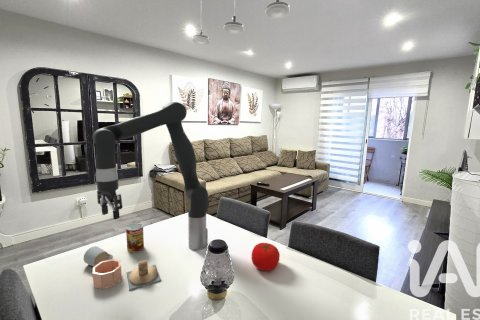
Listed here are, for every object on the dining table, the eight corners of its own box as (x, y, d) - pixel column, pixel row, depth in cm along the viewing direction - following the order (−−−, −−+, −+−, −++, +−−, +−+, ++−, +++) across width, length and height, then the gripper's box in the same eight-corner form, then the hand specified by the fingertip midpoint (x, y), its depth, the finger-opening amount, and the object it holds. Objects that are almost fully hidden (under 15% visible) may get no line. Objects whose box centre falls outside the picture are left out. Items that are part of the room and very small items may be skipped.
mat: (155, 265, 108) (155, 264, 108) (161, 281, 98) (161, 279, 98) (126, 273, 102) (126, 272, 102) (129, 290, 92) (129, 289, 92)
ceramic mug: (95, 271, 103) (94, 255, 102) (83, 266, 106) (82, 250, 105) (117, 260, 112) (116, 244, 111) (105, 255, 116) (105, 240, 115)
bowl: (120, 269, 104) (119, 257, 104) (122, 283, 96) (121, 269, 95) (94, 276, 99) (93, 263, 99) (93, 291, 91) (92, 277, 90)
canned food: (133, 254, 117) (132, 231, 115) (124, 249, 121) (122, 227, 119) (147, 247, 123) (146, 225, 121) (137, 243, 127) (136, 222, 126)
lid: (154, 265, 107) (154, 252, 106) (159, 279, 98) (159, 265, 97) (127, 272, 102) (127, 259, 101) (130, 288, 92) (129, 273, 91)
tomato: (253, 256, 118) (254, 236, 116) (279, 259, 115) (280, 239, 114) (248, 273, 104) (249, 251, 102) (278, 278, 101) (279, 255, 100)
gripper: (126, 179, 95) (129, 217, 98) (107, 174, 103) (110, 210, 106) (107, 183, 89) (111, 223, 92) (88, 178, 97) (92, 215, 99)
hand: (110, 216), depth 99 cm, fingers open, 8 cm apart
